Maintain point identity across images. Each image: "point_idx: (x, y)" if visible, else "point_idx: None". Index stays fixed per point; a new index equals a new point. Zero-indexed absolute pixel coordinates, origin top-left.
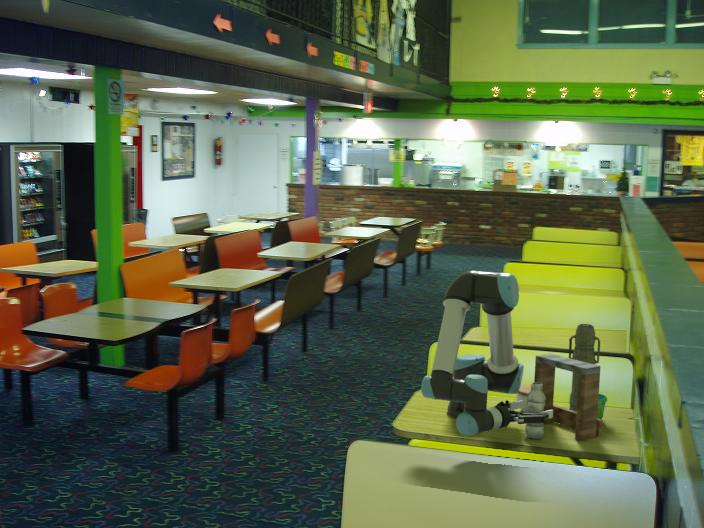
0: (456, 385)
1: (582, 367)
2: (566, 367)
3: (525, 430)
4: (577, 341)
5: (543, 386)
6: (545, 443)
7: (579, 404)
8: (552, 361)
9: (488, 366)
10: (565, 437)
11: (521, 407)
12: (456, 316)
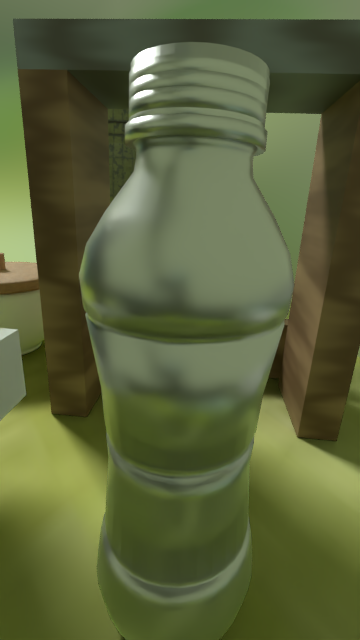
0: None
1: None
2: (266, 50)
3: (115, 614)
4: (109, 111)
5: (85, 226)
6: (310, 634)
7: (344, 274)
8: (150, 31)
9: None
10: (260, 446)
11: (11, 402)
12: None
